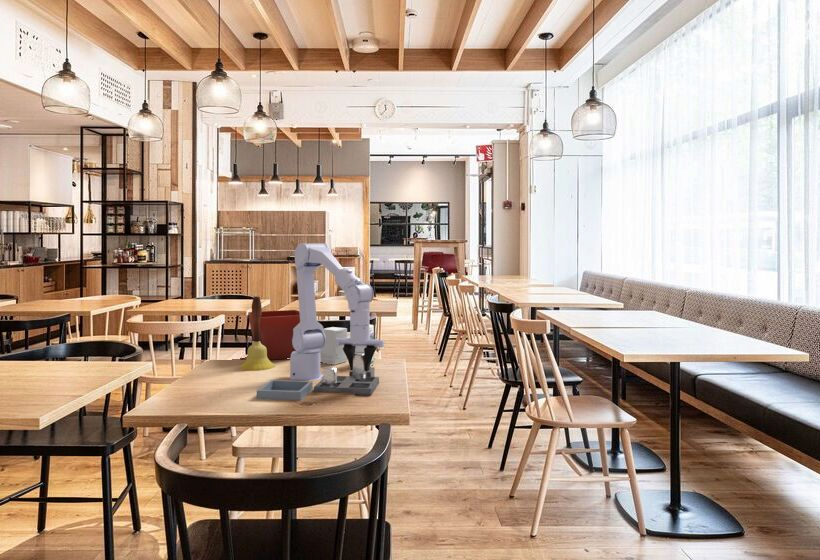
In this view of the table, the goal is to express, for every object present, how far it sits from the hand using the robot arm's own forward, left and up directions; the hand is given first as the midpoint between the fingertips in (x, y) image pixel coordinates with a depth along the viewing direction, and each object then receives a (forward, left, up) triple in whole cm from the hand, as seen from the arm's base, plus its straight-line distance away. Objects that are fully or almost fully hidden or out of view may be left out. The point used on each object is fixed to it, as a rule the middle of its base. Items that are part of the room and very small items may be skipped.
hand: (359, 370), depth 179 cm
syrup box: (-6, +38, -7) cm, 39 cm away
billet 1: (-9, 0, -7) cm, 11 cm away
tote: (-21, -7, -7) cm, 23 cm away
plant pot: (-42, +49, -7) cm, 65 cm away
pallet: (-5, +4, -7) cm, 9 cm away
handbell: (-43, +30, -7) cm, 53 cm away
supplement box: (-18, +41, -7) cm, 45 cm away
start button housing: (-3, +17, -7) cm, 18 cm away
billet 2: (0, 0, -2) cm, 2 cm away
